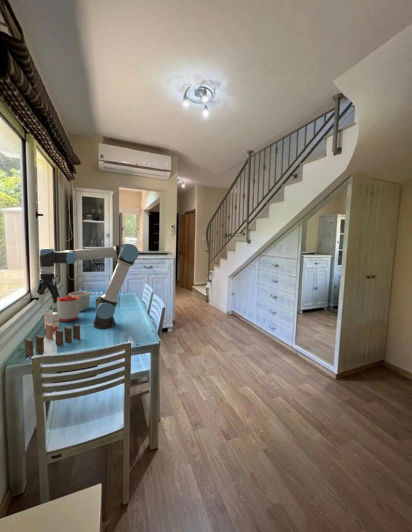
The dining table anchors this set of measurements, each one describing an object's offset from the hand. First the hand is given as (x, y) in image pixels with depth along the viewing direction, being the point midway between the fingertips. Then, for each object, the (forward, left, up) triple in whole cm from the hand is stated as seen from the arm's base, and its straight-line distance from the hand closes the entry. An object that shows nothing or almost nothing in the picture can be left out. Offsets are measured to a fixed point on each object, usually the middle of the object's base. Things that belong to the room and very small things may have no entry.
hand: (48, 306), depth 154 cm
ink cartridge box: (+3, -16, -21) cm, 27 cm away
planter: (-6, -61, -21) cm, 65 cm away
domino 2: (-1, +20, -21) cm, 29 cm away
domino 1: (+3, +23, -21) cm, 32 cm away
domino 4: (-9, +12, -21) cm, 26 cm away
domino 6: (-17, +4, -21) cm, 27 cm away
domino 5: (-13, +8, -21) cm, 26 cm away
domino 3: (0, 0, -21) cm, 21 cm away
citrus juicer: (-3, -37, -21) cm, 43 cm away
